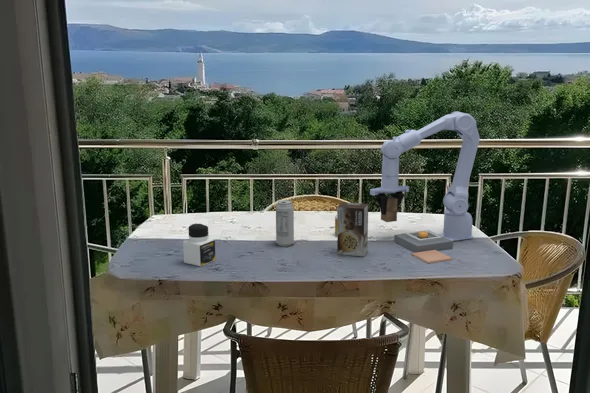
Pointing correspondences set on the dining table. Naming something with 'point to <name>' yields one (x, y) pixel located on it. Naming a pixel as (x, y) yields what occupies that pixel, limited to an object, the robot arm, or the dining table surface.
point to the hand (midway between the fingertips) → (388, 213)
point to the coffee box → (352, 229)
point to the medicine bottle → (199, 246)
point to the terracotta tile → (431, 256)
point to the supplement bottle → (336, 225)
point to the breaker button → (423, 234)
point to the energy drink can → (284, 223)
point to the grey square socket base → (423, 241)
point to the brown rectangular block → (390, 210)
